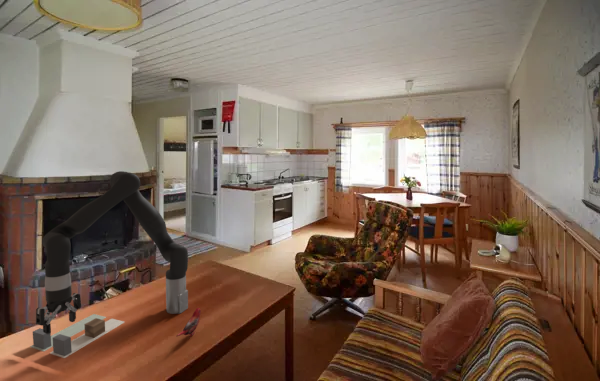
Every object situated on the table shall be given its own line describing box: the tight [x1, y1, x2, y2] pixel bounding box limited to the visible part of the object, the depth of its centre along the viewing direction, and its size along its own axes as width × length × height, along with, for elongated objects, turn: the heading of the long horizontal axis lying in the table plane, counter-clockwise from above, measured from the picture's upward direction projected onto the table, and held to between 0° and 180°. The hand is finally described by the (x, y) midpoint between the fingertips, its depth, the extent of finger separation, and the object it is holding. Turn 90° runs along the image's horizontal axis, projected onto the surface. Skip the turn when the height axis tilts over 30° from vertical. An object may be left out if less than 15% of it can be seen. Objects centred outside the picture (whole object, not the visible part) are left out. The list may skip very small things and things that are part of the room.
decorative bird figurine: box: [176, 307, 202, 338], centre depth 126 cm, size 3×18×10 cm, turn 167°
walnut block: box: [84, 318, 106, 338], centre depth 126 cm, size 5×5×5 cm
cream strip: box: [49, 318, 125, 359], centre depth 124 cm, size 8×26×7 cm, turn 162°
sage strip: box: [29, 313, 107, 352], centre depth 127 cm, size 8×26×7 cm, turn 162°
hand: (60, 327), depth 112 cm, fingers open, 8 cm apart
